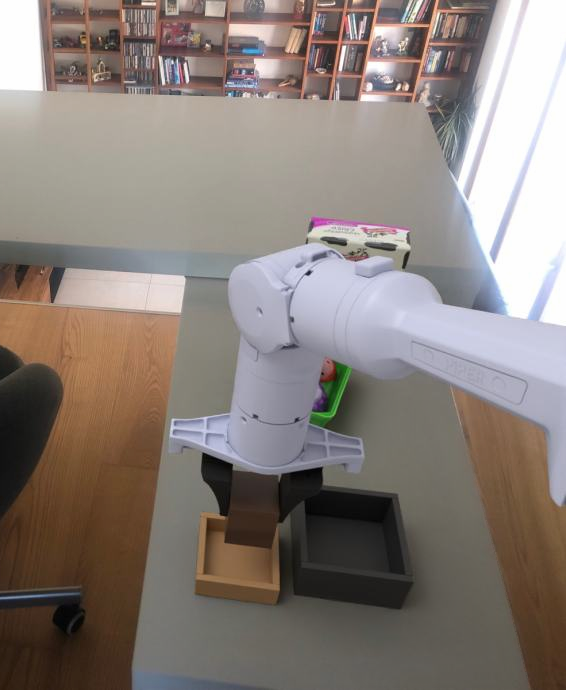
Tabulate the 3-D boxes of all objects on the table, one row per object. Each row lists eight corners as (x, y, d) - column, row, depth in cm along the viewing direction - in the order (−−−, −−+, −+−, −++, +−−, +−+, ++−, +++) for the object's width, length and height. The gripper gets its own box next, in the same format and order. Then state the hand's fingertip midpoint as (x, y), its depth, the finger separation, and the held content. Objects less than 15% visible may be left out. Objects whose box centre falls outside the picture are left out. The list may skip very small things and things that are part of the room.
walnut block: (271, 549, 59) (279, 514, 55) (224, 543, 59) (229, 507, 56) (270, 510, 62) (278, 474, 58) (225, 505, 62) (230, 469, 59)
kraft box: (275, 605, 61) (279, 590, 60) (194, 594, 62) (196, 579, 61) (274, 536, 67) (278, 520, 65) (199, 526, 68) (201, 511, 66)
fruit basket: (324, 451, 74) (346, 374, 67) (245, 424, 78) (257, 348, 70) (348, 385, 82) (370, 309, 75) (275, 363, 85) (289, 289, 78)
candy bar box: (378, 338, 88) (412, 226, 78) (378, 363, 85) (413, 250, 74) (289, 323, 91) (310, 213, 80) (285, 347, 87) (306, 235, 77)
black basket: (400, 609, 61) (414, 582, 58) (293, 594, 62) (301, 567, 59) (386, 521, 68) (397, 493, 65) (289, 510, 69) (297, 481, 66)
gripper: (370, 368, 52) (335, 482, 61) (177, 351, 54) (170, 463, 63) (383, 438, 47) (342, 552, 56) (168, 416, 49) (162, 529, 58)
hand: (251, 509), depth 59 cm, fingers closed on walnut block, 4 cm apart
